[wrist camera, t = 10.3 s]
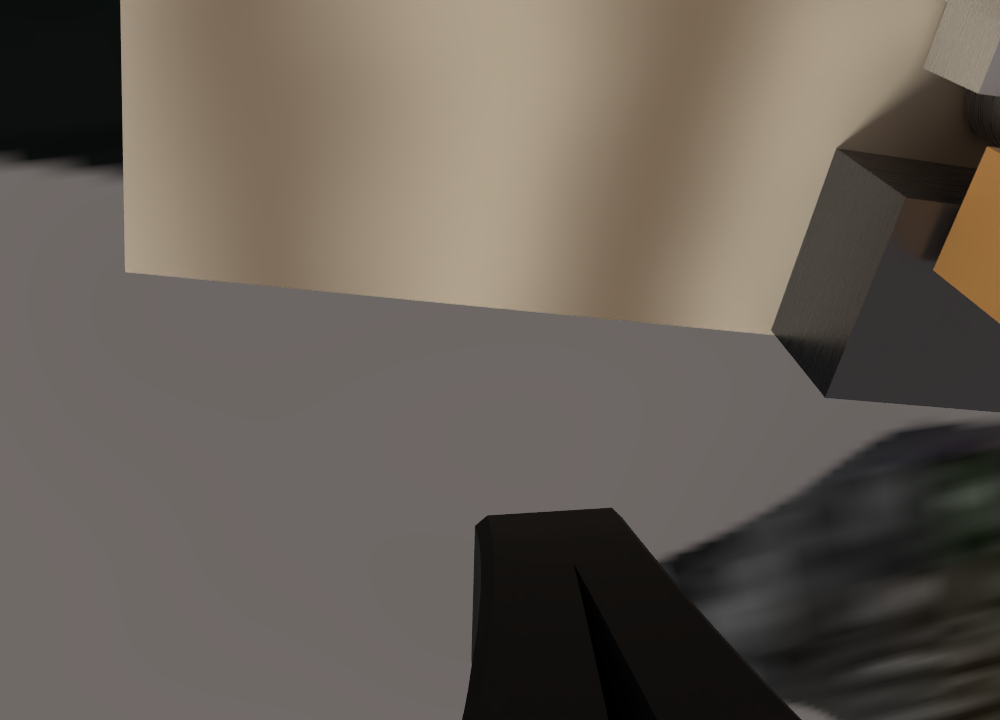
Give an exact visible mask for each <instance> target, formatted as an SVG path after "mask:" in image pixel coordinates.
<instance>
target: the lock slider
mask: <svg viewBox="0 0 1000 720" xmlns="http://www.w3.org/2000/svg"><path fill="white" fill-rule="evenodd" d="M933 271H935V272H936V273H937V274H938V275H940V276H941V277H942V278H943V279H945V280H946V281H947V282H948V283H950V284H951V285H952V286H953V287H955V288H956V289H957V290H958V291H960V292H961V293H962V294H963V295H965V296H966V297H967V298H968V299H970V300H971V301H972V302H973V303H975V304H976V305H977V306H978V307H980V308H981V309H982V310H983V311H985V312H986V313H987V314H988V315H990V316H991V317H992V318H993V319H995V320H996V321H997V322H998V323H1000V148H994V147H988V146H987V148H986V150H985V152H984V155H983V157H982V159H981V161H980V164H979V166H978V168H977V171H976V173H975V175H974V177H973V180H972V182H971V184H970V187H969V189H968V191H967V193H966V196H965V198H964V200H963V203H962V205H961V207H960V209H959V212H958V214H957V216H956V219H955V221H954V223H953V225H952V228H951V230H950V232H949V235H948V237H947V239H946V241H945V244H944V246H943V248H942V251H941V253H940V255H939V257H938V260H937V262H936V264H935V267H934V269H933Z"/></svg>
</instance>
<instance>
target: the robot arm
mask: <svg viewBox="0 0 1000 720" xmlns="http://www.w3.org/2000/svg"><path fill="white" fill-rule="evenodd" d="M473 589H474V590H473V623H472V668H471V674H470V681H469V688H468V693H467V699H466V704H465V709H464V714H463V718H462V720H801V719H800V718H799V717H798V716H797V715H796V714H795V713H794V712H793V711H792V710H791V709H790V708H789V707H788V705H787V704H786V703H785V702H784V701H783V700H782V699H781V698H780V697H779V696H778V695H777V694H776V693H775V692H774V691H773V690H772V689H771V688H770V687H769V686H768V685H767V684H766V683H765V682H764V681H763V680H762V679H761V677H760V676H759V675H758V674H757V673H756V672H755V671H754V670H753V669H752V668H751V667H750V666H749V665H748V663H747V662H746V661H745V660H744V659H743V658H742V657H741V656H740V655H739V654H738V653H737V652H736V650H735V649H734V648H733V647H732V646H731V645H730V644H729V643H728V642H727V641H726V640H725V639H724V638H723V636H722V635H721V634H720V633H719V632H718V631H717V630H716V629H715V628H714V627H713V625H712V624H711V623H710V622H709V621H708V620H707V619H706V618H705V616H704V615H703V614H702V613H701V612H700V611H699V610H698V608H697V607H696V606H695V605H694V604H693V603H692V601H691V600H690V599H689V598H688V597H687V596H686V594H685V593H684V592H683V591H682V590H681V589H680V587H679V586H678V585H677V584H676V583H675V582H674V580H673V579H672V578H671V577H670V576H669V575H668V573H667V572H666V571H665V570H664V569H663V567H662V566H661V565H660V564H659V563H658V561H657V560H656V559H655V558H654V557H653V555H652V554H651V553H650V552H649V550H648V549H647V548H646V547H645V546H644V544H643V543H642V542H641V541H640V539H639V538H638V537H637V536H636V534H635V533H634V532H633V531H632V530H631V528H630V527H629V526H628V525H627V523H626V522H625V521H624V520H623V518H622V517H621V516H620V515H619V514H618V513H617V512H615V511H614V510H613V509H612V508H600V509H584V510H568V511H553V512H537V513H521V514H505V515H489V516H486V517H485V518H484V519H483V520H482V521H480V522H479V523H478V524H477V525H476V526H475V550H474V587H473Z"/></svg>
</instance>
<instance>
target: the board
mask: <svg viewBox="0 0 1000 720" xmlns="http://www.w3.org/2000/svg"><path fill="white" fill-rule="evenodd" d="M120 2H121V60H122V117H123V175H124V227H125V228H124V232H125V272H131V273H140V274H151V275H161V276H171V277H181V278H191V279H192V278H193V279H203V280H213V281H223V282H233V283H243V284H254V285H263V286H274V287H284V288H294V289H304V290H315V291H325V292H336V293H346V294H357V295H366V296H376V297H387V298H397V299H407V300H418V301H429V302H438V303H449V304H459V305H469V306H479V307H490V308H500V309H510V310H520V311H531V312H541V313H551V314H561V315H572V316H582V317H592V318H603V319H614V320H623V321H634V322H644V323H654V324H664V325H674V326H685V327H695V328H705V329H715V330H726V331H736V332H746V333H758V334H767V335H774V333H773V332H772V331H771V329H772V326H773V323H774V321H775V318H776V315H777V312H778V309H779V307H780V304H781V301H782V298H783V295H784V293H785V290H786V287H787V284H788V281H789V279H790V276H791V273H792V270H793V268H794V265H795V262H796V259H797V256H798V254H799V251H800V248H801V245H802V242H803V240H804V237H805V234H806V231H807V228H808V226H809V223H810V220H811V217H812V214H813V212H814V209H815V206H816V203H817V201H818V198H819V195H820V192H821V189H822V187H823V184H824V181H825V178H826V175H827V173H828V170H829V167H830V164H831V161H832V159H833V156H834V153H835V150H836V148H838V149H845V150H852V151H858V152H865V153H872V154H879V155H886V156H893V157H900V158H907V159H914V160H921V161H928V162H935V163H942V164H949V165H956V166H962V167H969V168H976V169H977V168H978V166H979V164H980V161H981V159H982V157H983V155H984V152H985V150H986V148H987V146H988V147H994V146H992V145H990V144H988V143H986V142H984V141H982V140H981V139H979V138H978V137H977V136H976V135H974V133H973V132H972V131H971V129H970V128H969V126H968V124H967V121H966V118H965V113H964V96H965V92H966V88H965V87H963V86H960V85H958V84H956V83H954V82H952V81H950V80H947V79H945V78H943V77H941V76H939V75H937V74H934V73H932V72H930V71H928V70H926V69H924V68H923V67H924V64H925V62H926V59H927V56H928V53H929V51H930V48H931V45H932V42H933V40H934V37H935V34H936V31H937V29H938V26H939V23H940V20H941V18H942V15H943V12H944V10H945V7H946V4H947V2H945V1H942V0H120ZM994 148H995V147H994Z"/></svg>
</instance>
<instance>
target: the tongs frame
mask: <svg viewBox="0 0 1000 720" xmlns="http://www.w3.org/2000/svg"><path fill="white" fill-rule="evenodd" d="M976 171H977V169H976V168H969V167H962V166H956V165H949V164H942V163H935V162H928V161H921V160H914V159H907V158H900V157H893V156H886V155H879V154H872V153H865V152H858V151H852V150H845V149H838V148H836V150H835V153H834V156H833V159H832V161H831V164H830V167H829V170H828V173H827V175H826V178H825V181H824V184H823V187H822V189H821V192H820V195H819V198H818V201H817V203H816V206H815V209H814V212H813V214H812V217H811V220H810V223H809V226H808V228H807V231H806V234H805V237H804V240H803V242H802V245H801V248H800V251H799V254H798V256H797V259H796V262H795V265H794V268H793V270H792V273H791V276H790V279H789V281H788V284H787V287H786V290H785V293H784V295H783V298H782V301H781V304H780V307H779V309H778V312H777V315H776V318H775V321H774V323H773V326H772V329H771V331H772V332H773V333H774V335H775V336H776V337H777V338H778V339H779V341H780V342H781V343H782V344H783V346H784V347H785V348H786V349H787V351H788V352H789V353H790V354H791V356H792V357H793V358H794V359H795V361H796V362H797V363H798V364H799V366H800V367H801V368H802V369H803V371H804V372H805V373H806V374H807V376H808V377H809V378H810V379H811V381H812V382H813V383H814V384H815V386H816V387H817V388H818V389H819V391H820V392H821V393H822V394H823V396H824V397H825V398H836V399H847V400H859V401H871V402H884V403H895V404H907V405H920V406H931V407H943V408H955V409H967V410H979V411H991V412H1000V323H998V322H997V321H996V320H995V319H993V318H992V317H991V316H990V315H988V314H987V313H986V312H985V311H983V310H982V309H981V308H980V307H978V306H977V305H976V304H975V303H973V302H972V301H971V300H970V299H968V298H967V297H966V296H965V295H963V294H962V293H961V292H960V291H958V290H957V289H956V288H955V287H953V286H952V285H951V284H950V283H948V282H947V281H946V280H945V279H943V278H942V277H941V276H940V275H938V274H937V273H936V272H935V271H933V269H934V267H935V264H936V262H937V260H938V257H939V255H940V253H941V251H942V248H943V246H944V244H945V241H946V239H947V237H948V235H949V232H950V230H951V228H952V225H953V223H954V221H955V219H956V216H957V214H958V212H959V209H960V207H961V205H962V203H963V200H964V198H965V196H966V193H967V191H968V189H969V187H970V184H971V182H972V180H973V177H974V175H975V173H976Z"/></svg>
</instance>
